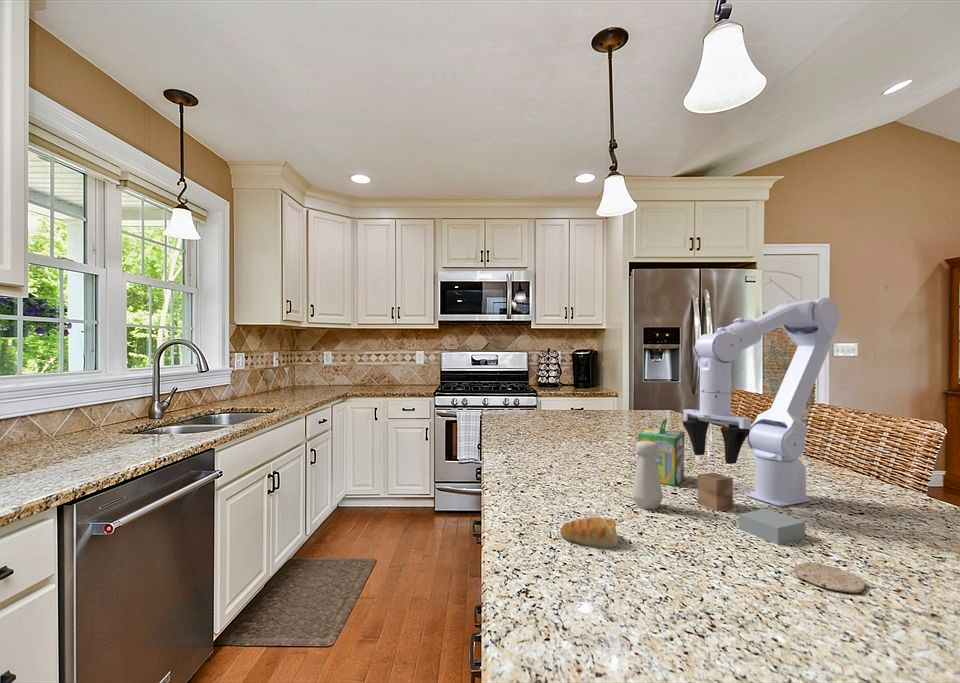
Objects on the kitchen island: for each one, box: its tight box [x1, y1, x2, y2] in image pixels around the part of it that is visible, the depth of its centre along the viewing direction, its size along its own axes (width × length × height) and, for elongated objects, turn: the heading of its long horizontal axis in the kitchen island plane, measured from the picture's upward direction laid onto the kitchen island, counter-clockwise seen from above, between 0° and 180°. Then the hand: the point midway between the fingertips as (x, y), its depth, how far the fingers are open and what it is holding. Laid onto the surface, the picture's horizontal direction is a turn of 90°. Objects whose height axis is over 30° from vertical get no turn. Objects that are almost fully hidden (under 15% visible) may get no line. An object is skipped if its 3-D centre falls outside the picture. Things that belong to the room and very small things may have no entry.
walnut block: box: [697, 472, 734, 512], centre depth 94 cm, size 4×4×6 cm
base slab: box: [738, 508, 806, 546], centre depth 80 cm, size 7×7×3 cm
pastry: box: [559, 516, 618, 549], centre depth 78 cm, size 9×7×4 cm
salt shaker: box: [631, 441, 664, 510], centre depth 94 cm, size 6×6×13 cm
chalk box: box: [637, 417, 686, 487], centre depth 113 cm, size 9×9×15 cm
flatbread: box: [793, 561, 866, 594], centre depth 64 cm, size 8×8×1 cm
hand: (714, 458), depth 94 cm, fingers open, 7 cm apart
